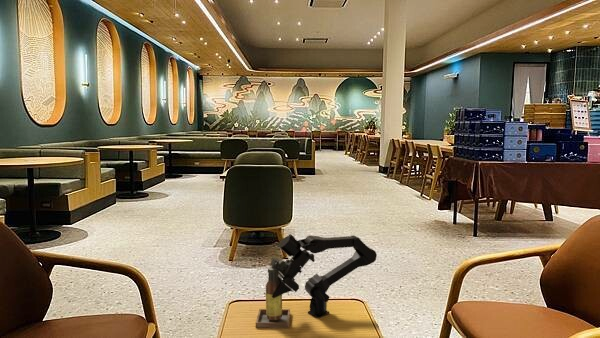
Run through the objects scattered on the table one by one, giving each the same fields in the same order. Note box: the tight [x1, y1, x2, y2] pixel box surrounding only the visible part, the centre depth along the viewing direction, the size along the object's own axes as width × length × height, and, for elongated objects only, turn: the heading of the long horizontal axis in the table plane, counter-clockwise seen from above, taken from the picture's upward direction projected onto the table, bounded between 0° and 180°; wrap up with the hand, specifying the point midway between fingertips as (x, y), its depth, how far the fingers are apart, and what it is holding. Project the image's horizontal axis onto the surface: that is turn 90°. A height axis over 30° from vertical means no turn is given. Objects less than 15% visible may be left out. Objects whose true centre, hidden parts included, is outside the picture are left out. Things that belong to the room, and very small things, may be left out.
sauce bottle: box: [265, 266, 283, 321], centre depth 175 cm, size 6×6×20 cm
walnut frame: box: [255, 308, 291, 329], centre depth 176 cm, size 12×12×2 cm
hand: (270, 294), depth 174 cm, fingers closed on sauce bottle, 6 cm apart
